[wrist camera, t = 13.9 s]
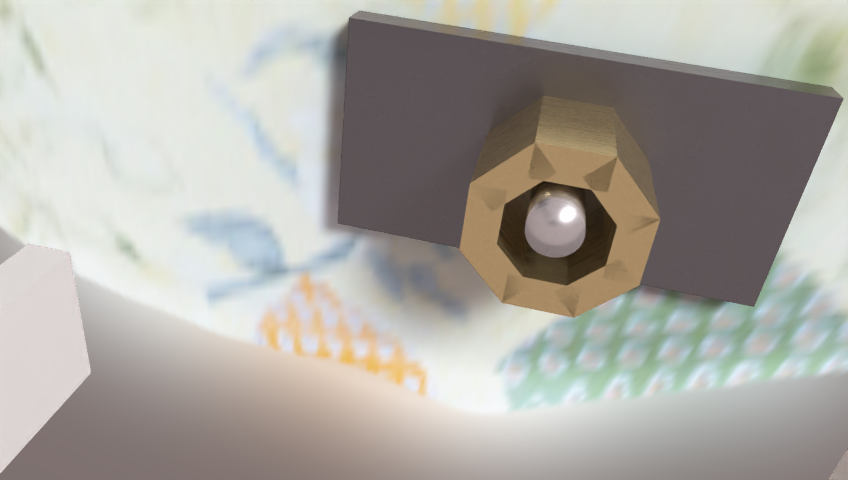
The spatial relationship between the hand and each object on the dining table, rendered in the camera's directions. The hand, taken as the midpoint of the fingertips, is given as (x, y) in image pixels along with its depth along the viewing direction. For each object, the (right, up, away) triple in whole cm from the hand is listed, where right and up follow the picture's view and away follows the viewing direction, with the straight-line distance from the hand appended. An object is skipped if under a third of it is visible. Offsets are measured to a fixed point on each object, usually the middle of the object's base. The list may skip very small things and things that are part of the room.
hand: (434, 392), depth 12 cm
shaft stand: (+6, +6, +20) cm, 22 cm away
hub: (+6, +5, +19) cm, 21 cm away
